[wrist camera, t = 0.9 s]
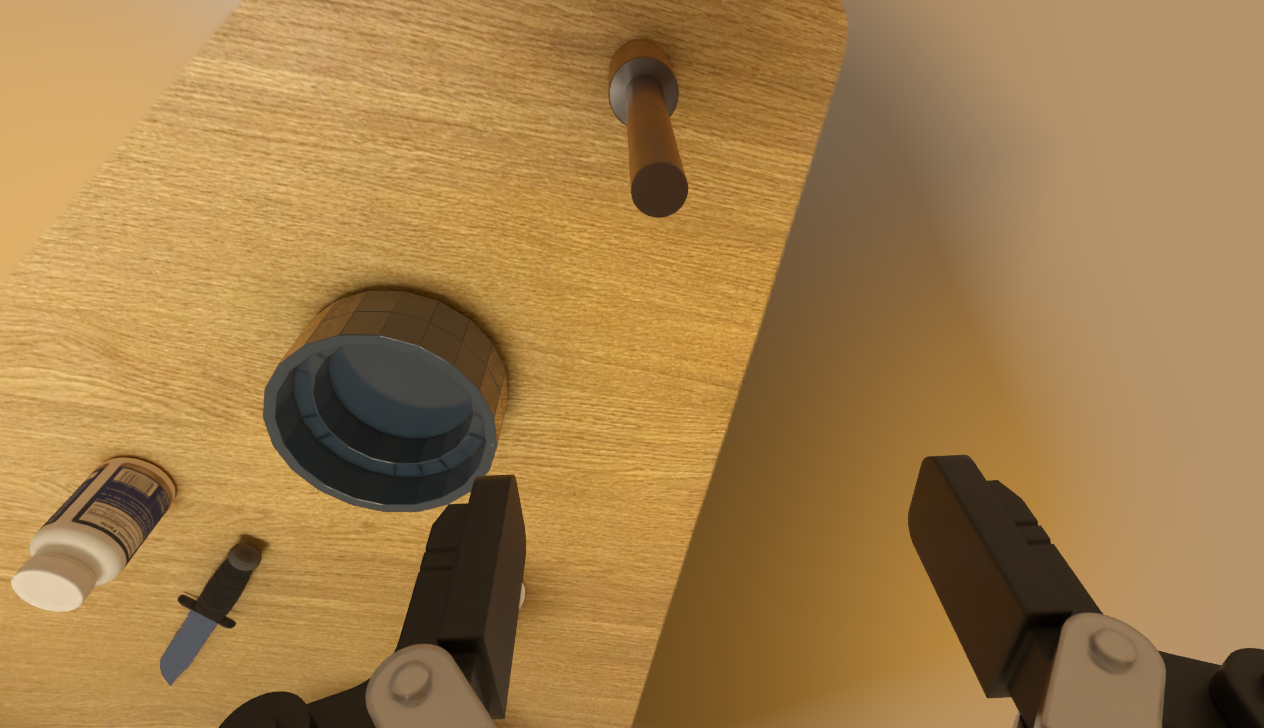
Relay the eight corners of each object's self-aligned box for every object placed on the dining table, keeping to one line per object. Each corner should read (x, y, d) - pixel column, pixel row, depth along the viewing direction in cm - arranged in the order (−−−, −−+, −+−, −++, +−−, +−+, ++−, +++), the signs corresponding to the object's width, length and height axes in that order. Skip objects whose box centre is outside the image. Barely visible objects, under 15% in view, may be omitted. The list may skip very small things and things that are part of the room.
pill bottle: (120, 510, 51) (28, 622, 43) (84, 457, 48) (-23, 566, 40) (190, 506, 51) (111, 616, 43) (158, 452, 48) (66, 560, 40)
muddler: (609, 39, 34) (605, 135, 19) (672, 40, 34) (718, 136, 19) (609, 105, 36) (605, 240, 21) (669, 106, 36) (708, 241, 21)
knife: (204, 547, 50) (265, 581, 52) (224, 525, 52) (283, 557, 54) (126, 680, 62) (178, 705, 63) (145, 658, 64) (195, 682, 65)
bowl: (278, 283, 41) (232, 334, 36) (500, 285, 42) (484, 335, 37) (328, 451, 49) (296, 512, 44) (516, 451, 49) (505, 512, 44)
